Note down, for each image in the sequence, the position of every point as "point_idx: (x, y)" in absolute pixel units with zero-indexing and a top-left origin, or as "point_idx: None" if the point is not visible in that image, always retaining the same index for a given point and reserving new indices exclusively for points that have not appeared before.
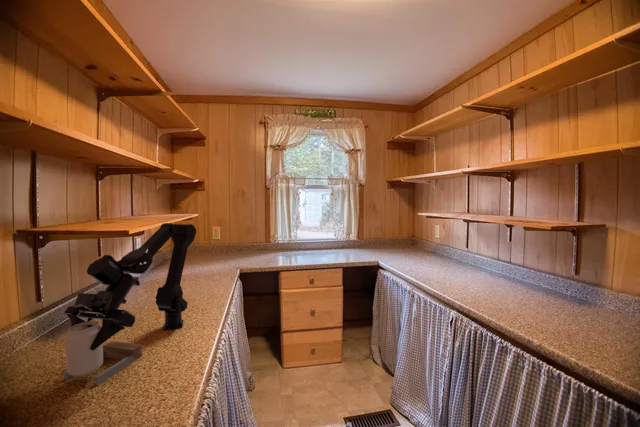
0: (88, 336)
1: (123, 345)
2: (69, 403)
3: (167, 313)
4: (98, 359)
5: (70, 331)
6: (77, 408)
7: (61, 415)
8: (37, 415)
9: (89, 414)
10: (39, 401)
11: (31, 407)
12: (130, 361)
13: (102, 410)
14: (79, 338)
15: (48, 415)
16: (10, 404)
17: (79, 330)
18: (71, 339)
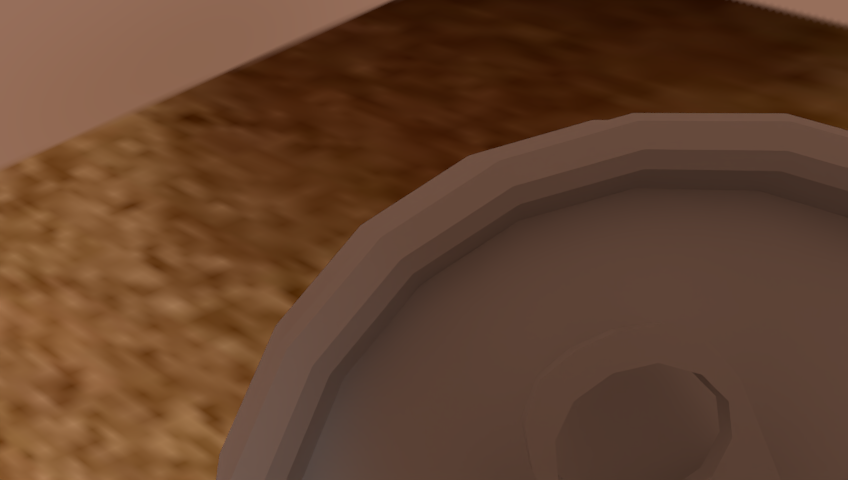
0: (234, 430)
1: None
2: (315, 205)
3: None
4: None
5: (668, 116)
6: (201, 200)
7: (233, 120)
8: (387, 53)
9: (63, 202)
10: (560, 123)
11: (530, 70)
12: None
13: (14, 261)
14: (338, 257)
15: (316, 84)
16: (724, 19)
17: (613, 389)
18: (489, 151)
